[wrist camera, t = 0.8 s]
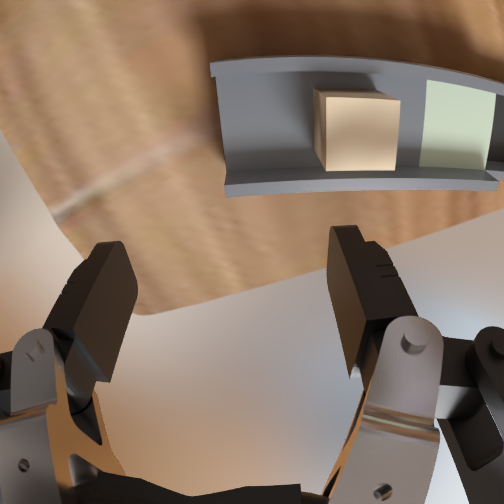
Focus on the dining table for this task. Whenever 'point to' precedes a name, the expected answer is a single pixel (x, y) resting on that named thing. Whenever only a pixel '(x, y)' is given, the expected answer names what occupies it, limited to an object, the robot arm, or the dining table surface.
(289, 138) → the channel deck
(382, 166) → the wood block
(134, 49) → the dining table surface
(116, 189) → the dining table surface
